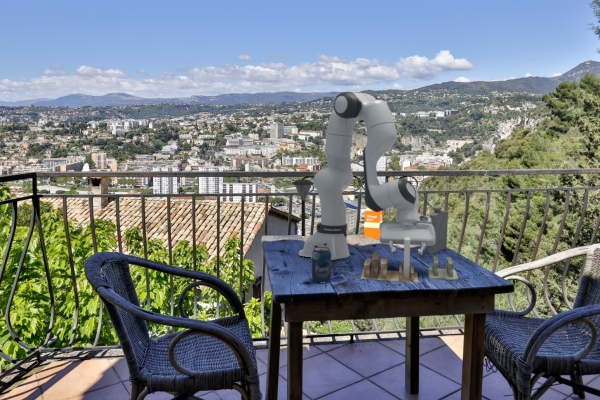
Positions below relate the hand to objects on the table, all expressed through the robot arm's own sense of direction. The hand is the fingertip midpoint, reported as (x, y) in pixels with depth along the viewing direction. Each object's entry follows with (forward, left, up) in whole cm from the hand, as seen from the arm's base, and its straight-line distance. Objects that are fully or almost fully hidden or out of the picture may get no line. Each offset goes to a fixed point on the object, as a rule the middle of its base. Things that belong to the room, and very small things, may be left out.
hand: (406, 253), depth 165 cm
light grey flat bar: (0, 0, -8) cm, 8 cm away
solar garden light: (-51, +60, -10) cm, 79 cm away
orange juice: (-16, +70, -10) cm, 72 cm away
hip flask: (+14, +48, -10) cm, 51 cm away
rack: (-6, 0, -10) cm, 12 cm away
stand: (+13, +5, -10) cm, 17 cm away
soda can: (-30, -7, -10) cm, 33 cm away
